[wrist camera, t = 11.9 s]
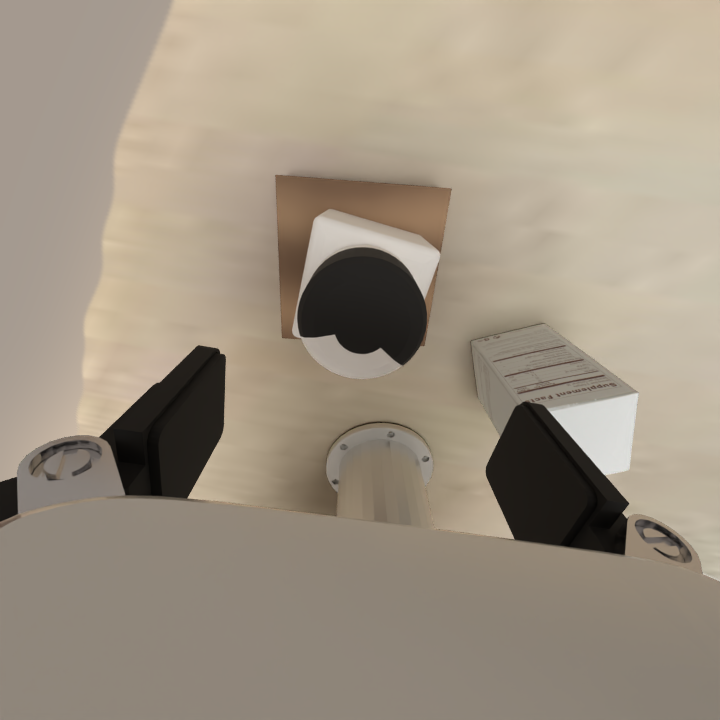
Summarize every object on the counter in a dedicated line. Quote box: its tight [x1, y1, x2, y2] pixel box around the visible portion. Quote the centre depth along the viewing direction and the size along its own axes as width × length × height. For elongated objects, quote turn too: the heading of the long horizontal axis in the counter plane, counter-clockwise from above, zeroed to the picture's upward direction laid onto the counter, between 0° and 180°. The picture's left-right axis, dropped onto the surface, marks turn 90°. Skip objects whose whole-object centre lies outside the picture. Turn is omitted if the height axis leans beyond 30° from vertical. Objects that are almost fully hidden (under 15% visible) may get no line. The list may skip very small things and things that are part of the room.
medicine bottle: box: [292, 209, 440, 379], centre depth 21 cm, size 7×7×12 cm
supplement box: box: [471, 324, 639, 475], centre depth 29 cm, size 7×7×13 cm
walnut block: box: [276, 175, 451, 346], centre depth 28 cm, size 12×12×5 cm
